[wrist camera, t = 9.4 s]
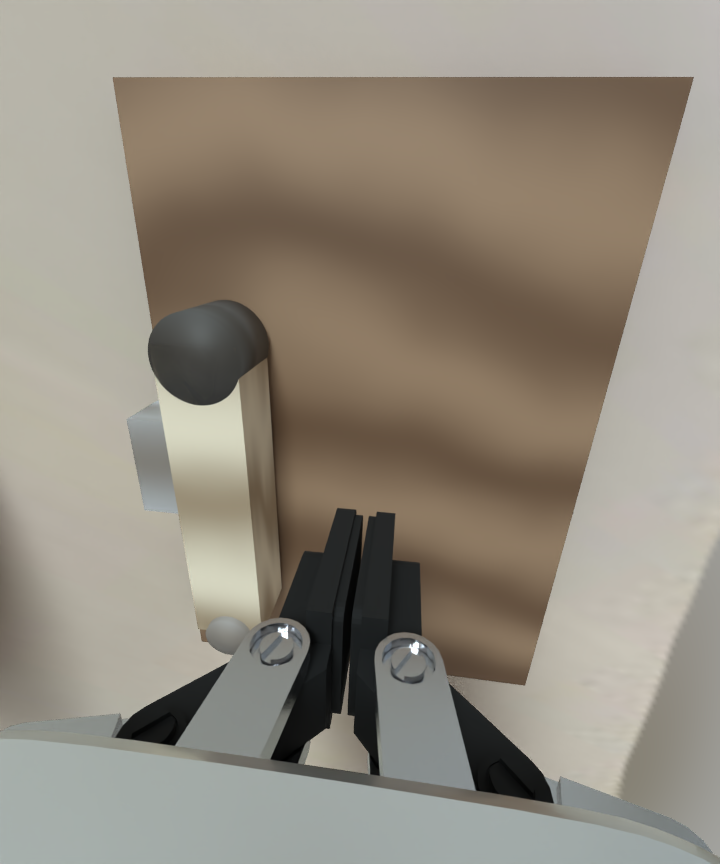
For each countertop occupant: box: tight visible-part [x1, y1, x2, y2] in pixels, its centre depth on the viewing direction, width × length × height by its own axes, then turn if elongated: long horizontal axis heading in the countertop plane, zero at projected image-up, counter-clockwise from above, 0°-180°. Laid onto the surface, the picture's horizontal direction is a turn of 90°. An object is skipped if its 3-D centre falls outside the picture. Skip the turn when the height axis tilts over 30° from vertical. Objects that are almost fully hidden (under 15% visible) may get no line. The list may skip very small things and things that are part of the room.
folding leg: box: [148, 300, 282, 655], centre depth 18 cm, size 15×3×3 cm, turn 179°
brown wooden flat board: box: [113, 77, 694, 685], centre depth 18 cm, size 26×18×4 cm
